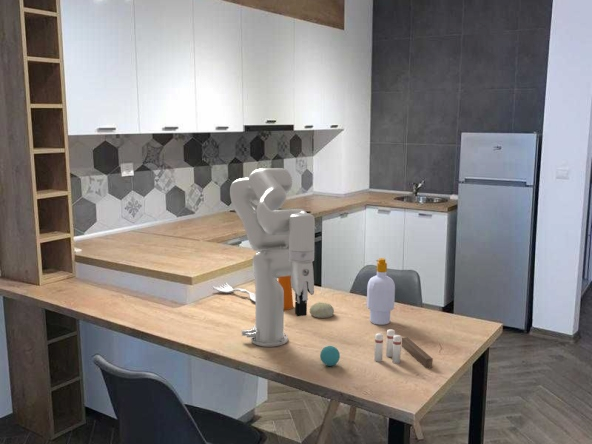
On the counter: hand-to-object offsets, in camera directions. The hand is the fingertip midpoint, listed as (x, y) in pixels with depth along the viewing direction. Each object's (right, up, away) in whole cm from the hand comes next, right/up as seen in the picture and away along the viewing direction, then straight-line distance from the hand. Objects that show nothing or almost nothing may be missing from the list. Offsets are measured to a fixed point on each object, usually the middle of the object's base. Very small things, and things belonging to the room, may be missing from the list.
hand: (300, 314), depth 177 cm
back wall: (+37, -15, +13) cm, 42 cm away
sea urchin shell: (+9, -9, +51) cm, 52 cm away
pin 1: (+29, -15, +13) cm, 35 cm away
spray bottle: (-7, -7, +58) cm, 59 cm away
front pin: (+25, -16, +9) cm, 31 cm away
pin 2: (+30, -16, +8) cm, 35 cm away
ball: (+9, -13, +5) cm, 17 cm away
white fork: (-23, -4, +73) cm, 77 cm away
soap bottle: (+30, -10, +44) cm, 54 cm away
